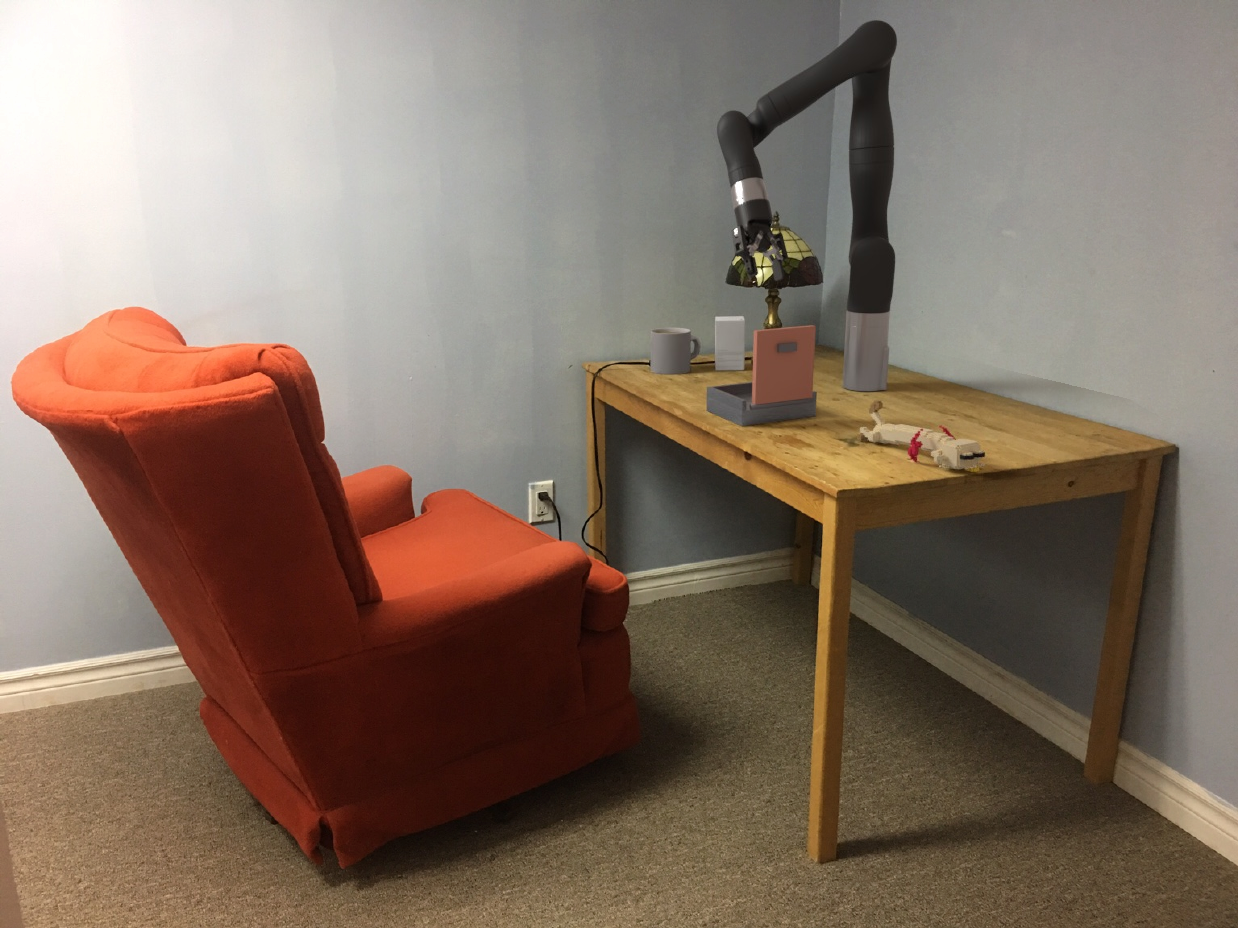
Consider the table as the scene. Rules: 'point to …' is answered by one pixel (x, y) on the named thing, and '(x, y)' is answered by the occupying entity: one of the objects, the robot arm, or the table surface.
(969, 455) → the cream blocky figure
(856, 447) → the table surface
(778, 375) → the flat pink square board
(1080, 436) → the table surface
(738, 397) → the grey open box
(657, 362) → the coffee mug
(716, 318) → the supplement box
